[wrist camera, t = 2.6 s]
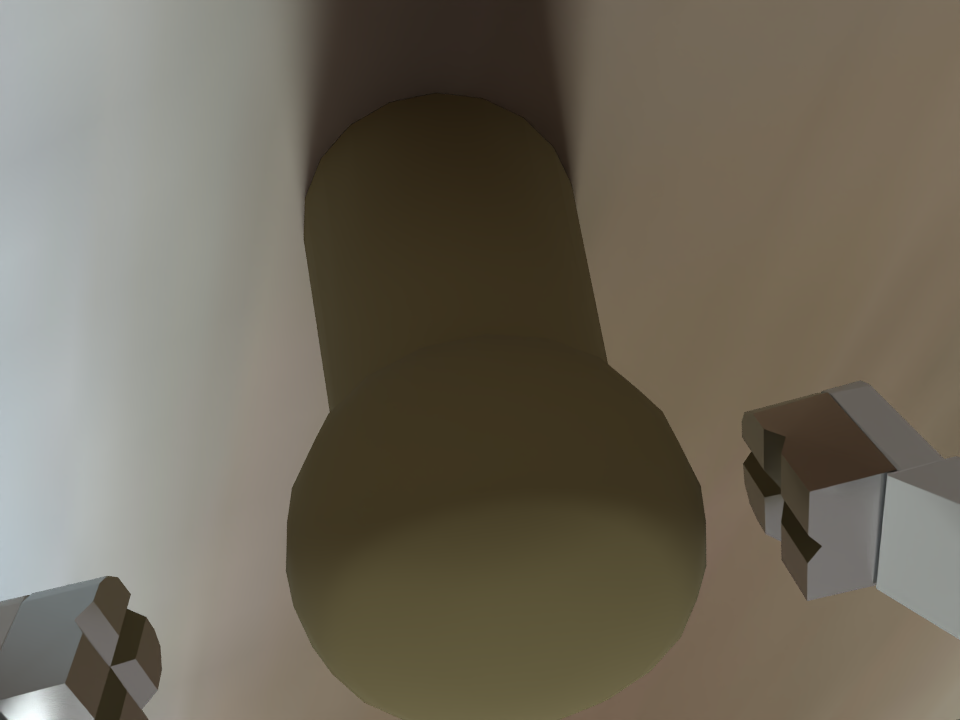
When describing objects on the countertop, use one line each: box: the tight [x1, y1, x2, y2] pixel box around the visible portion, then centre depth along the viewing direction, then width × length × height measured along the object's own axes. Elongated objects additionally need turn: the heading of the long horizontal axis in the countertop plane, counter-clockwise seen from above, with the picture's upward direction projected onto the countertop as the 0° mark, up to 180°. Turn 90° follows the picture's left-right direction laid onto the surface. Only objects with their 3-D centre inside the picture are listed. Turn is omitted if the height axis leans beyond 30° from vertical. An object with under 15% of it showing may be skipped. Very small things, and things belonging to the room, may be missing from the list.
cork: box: [286, 93, 706, 720], centre depth 13 cm, size 6×6×11 cm
